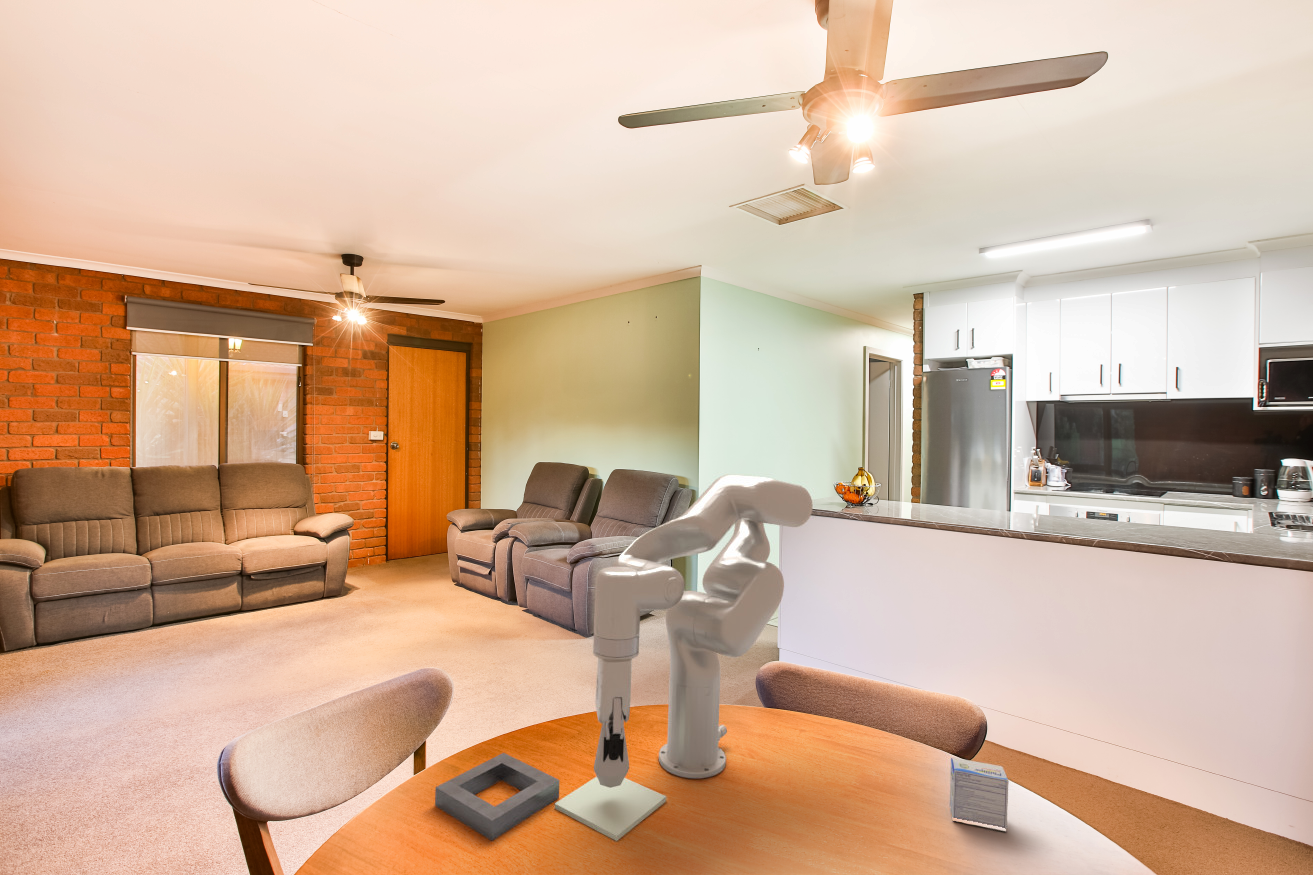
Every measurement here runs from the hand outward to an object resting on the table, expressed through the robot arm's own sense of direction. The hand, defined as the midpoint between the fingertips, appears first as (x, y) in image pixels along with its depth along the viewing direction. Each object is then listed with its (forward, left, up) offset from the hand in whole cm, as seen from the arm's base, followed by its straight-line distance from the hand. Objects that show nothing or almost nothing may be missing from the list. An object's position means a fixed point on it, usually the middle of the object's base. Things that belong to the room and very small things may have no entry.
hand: (612, 754), depth 102 cm
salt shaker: (0, 0, -4) cm, 4 cm away
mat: (0, 0, -8) cm, 8 cm away
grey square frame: (+11, -15, -8) cm, 20 cm away
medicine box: (-34, +49, -9) cm, 60 cm away
